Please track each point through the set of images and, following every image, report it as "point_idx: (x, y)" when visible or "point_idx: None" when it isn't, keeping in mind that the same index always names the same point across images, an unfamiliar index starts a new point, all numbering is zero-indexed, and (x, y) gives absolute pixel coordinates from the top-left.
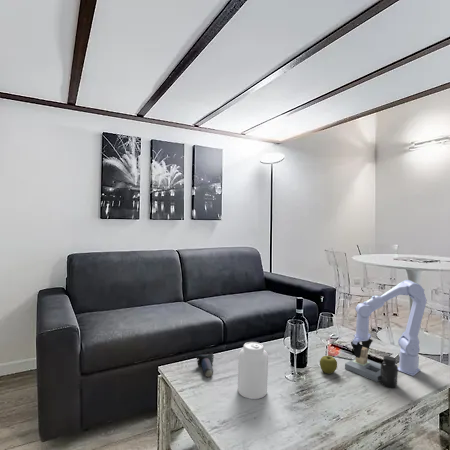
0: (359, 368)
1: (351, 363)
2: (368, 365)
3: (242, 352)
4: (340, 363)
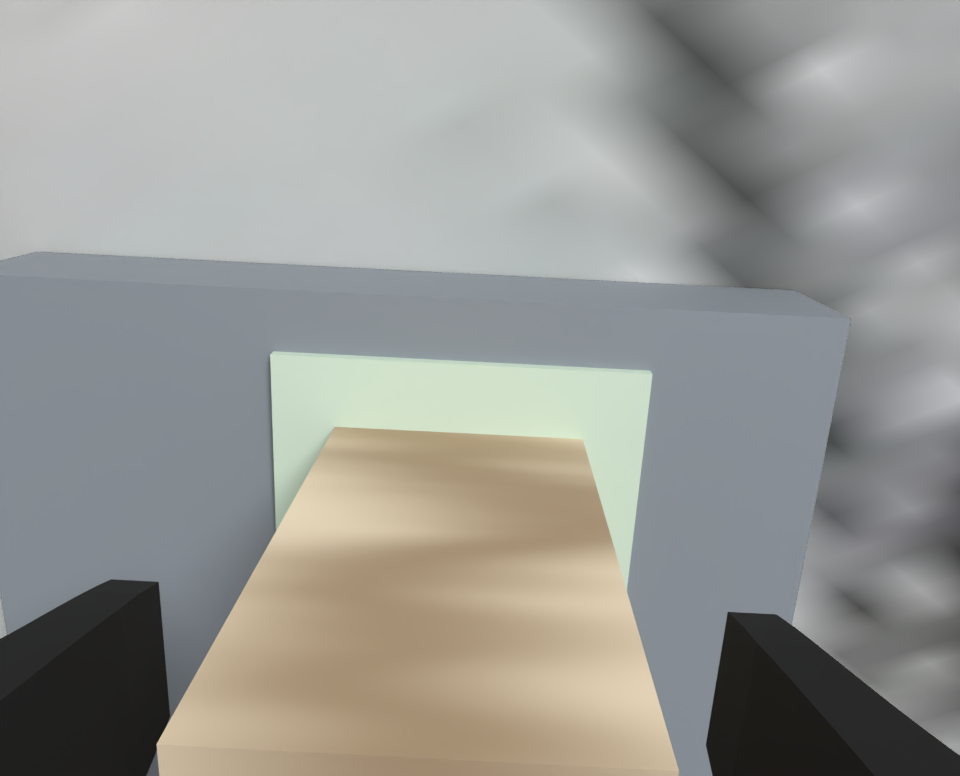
0: None
1: (137, 394)
2: None
3: None
4: (194, 8)
